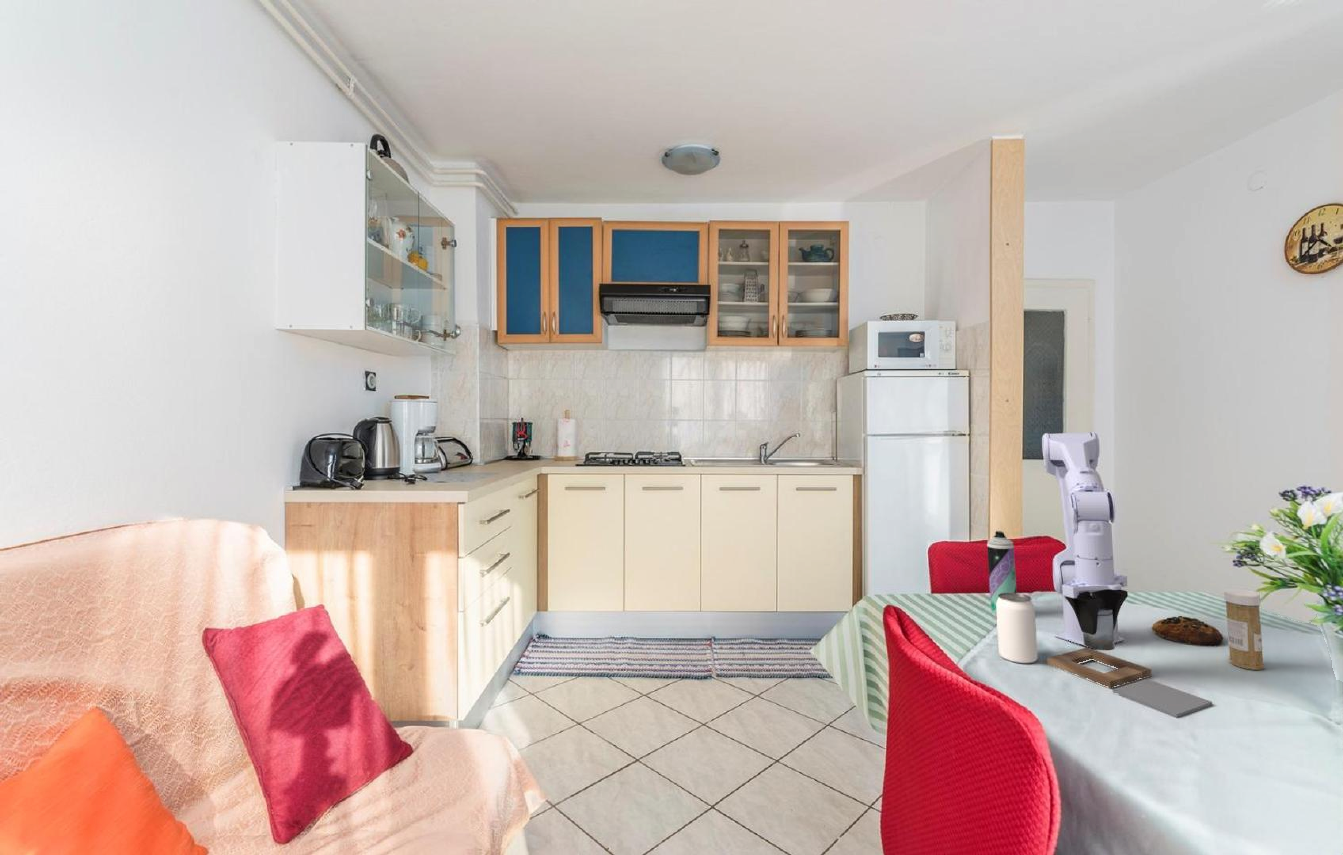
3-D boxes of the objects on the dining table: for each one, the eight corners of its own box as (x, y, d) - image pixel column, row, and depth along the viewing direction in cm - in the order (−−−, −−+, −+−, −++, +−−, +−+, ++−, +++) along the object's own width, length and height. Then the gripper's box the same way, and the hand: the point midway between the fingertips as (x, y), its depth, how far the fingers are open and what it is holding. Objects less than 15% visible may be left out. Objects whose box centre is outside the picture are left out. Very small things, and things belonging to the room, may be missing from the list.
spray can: (987, 611, 134) (982, 529, 135) (1011, 611, 134) (1006, 529, 134) (997, 619, 129) (992, 534, 129) (1022, 618, 128) (1017, 533, 128)
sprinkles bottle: (1271, 671, 97) (1267, 595, 97) (1240, 670, 98) (1236, 595, 98) (1251, 660, 102) (1246, 587, 102) (1221, 659, 103) (1217, 587, 103)
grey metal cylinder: (1094, 639, 104) (1092, 602, 104) (1120, 647, 100) (1118, 609, 100) (1077, 643, 102) (1075, 605, 102) (1103, 652, 98) (1101, 613, 98)
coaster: (1147, 681, 96) (1147, 678, 96) (1212, 704, 87) (1212, 701, 87) (1112, 692, 93) (1112, 689, 93) (1176, 717, 84) (1176, 714, 84)
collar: (1087, 653, 108) (1086, 647, 108) (1151, 675, 98) (1151, 669, 98) (1047, 664, 105) (1047, 657, 105) (1110, 688, 94) (1109, 681, 94)
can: (1043, 665, 104) (1040, 602, 104) (1006, 663, 106) (1002, 601, 106) (1029, 651, 111) (1025, 591, 111) (993, 650, 112) (990, 591, 112)
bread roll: (1209, 651, 106) (1203, 624, 107) (1142, 640, 116) (1137, 616, 117) (1237, 641, 111) (1232, 616, 112) (1170, 632, 121) (1166, 608, 122)
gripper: (1089, 566, 95) (1094, 645, 95) (1144, 555, 100) (1148, 630, 100) (1049, 558, 101) (1053, 631, 101) (1102, 548, 106) (1106, 618, 106)
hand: (1097, 630), depth 101 cm, fingers closed on grey metal cylinder, 4 cm apart
